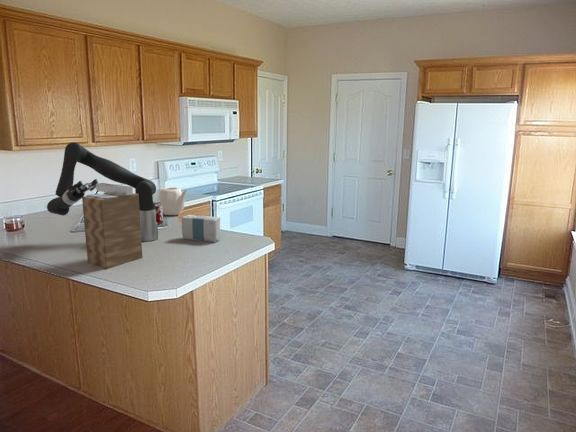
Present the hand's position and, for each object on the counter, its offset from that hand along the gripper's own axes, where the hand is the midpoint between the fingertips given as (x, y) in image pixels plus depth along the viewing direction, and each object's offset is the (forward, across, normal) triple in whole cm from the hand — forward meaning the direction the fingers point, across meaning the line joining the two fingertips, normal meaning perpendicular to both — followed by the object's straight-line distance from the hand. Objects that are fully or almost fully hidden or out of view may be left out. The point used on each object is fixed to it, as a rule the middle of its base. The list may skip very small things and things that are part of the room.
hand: (89, 181), depth 219 cm
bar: (+14, 0, -12) cm, 19 cm away
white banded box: (+8, -47, -46) cm, 66 cm away
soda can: (-36, -62, -21) cm, 74 cm away
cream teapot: (-46, -87, -15) cm, 100 cm away
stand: (+1, +5, -42) cm, 42 cm away
